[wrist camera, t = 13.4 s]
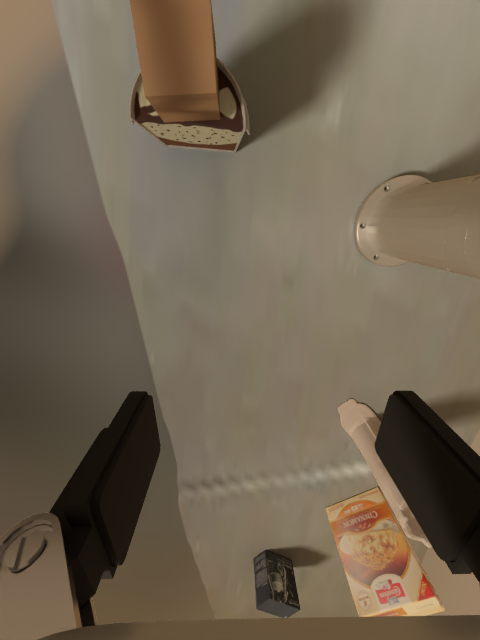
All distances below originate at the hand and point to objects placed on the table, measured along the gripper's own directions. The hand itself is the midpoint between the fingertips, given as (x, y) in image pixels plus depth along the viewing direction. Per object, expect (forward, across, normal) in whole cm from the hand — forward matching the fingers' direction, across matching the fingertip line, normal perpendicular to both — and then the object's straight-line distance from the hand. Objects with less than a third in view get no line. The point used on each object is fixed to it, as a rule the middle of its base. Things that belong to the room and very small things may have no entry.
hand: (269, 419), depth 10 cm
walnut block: (+22, +6, -19) cm, 30 cm away
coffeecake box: (+32, -30, +62) cm, 76 cm away
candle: (+32, -25, +33) cm, 53 cm away
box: (+32, -10, +88) cm, 94 cm away
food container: (+32, +6, -19) cm, 38 cm away
